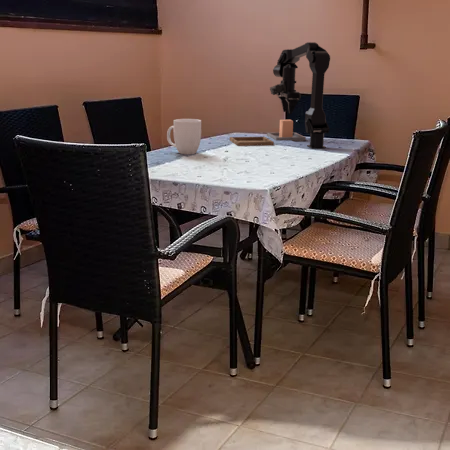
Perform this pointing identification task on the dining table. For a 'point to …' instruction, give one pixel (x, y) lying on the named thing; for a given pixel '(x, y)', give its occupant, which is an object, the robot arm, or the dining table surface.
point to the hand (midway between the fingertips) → (287, 112)
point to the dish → (251, 141)
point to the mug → (186, 135)
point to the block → (286, 128)
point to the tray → (295, 137)
